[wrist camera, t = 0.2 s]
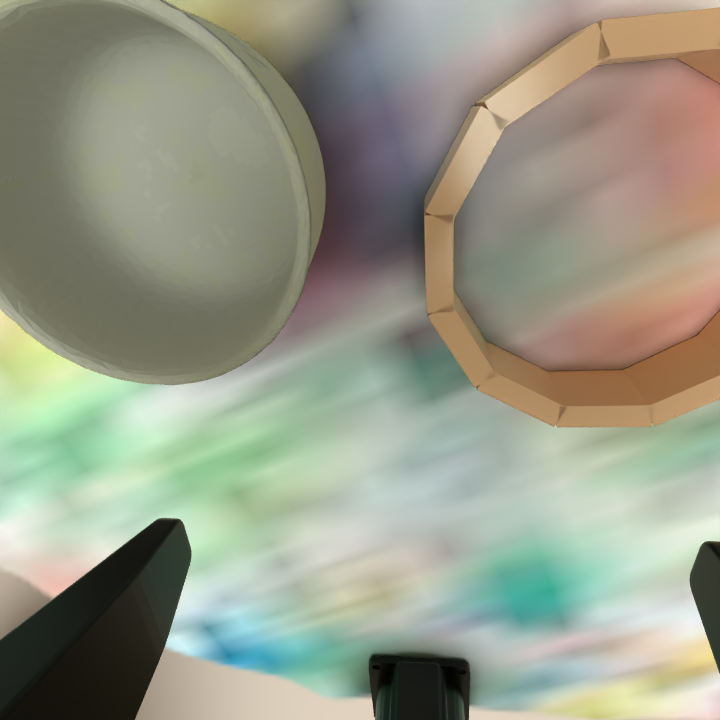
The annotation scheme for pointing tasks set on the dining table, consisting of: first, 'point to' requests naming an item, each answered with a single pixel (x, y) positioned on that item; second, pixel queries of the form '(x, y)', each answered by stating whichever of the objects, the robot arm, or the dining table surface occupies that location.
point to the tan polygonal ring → (455, 179)
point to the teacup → (149, 189)
